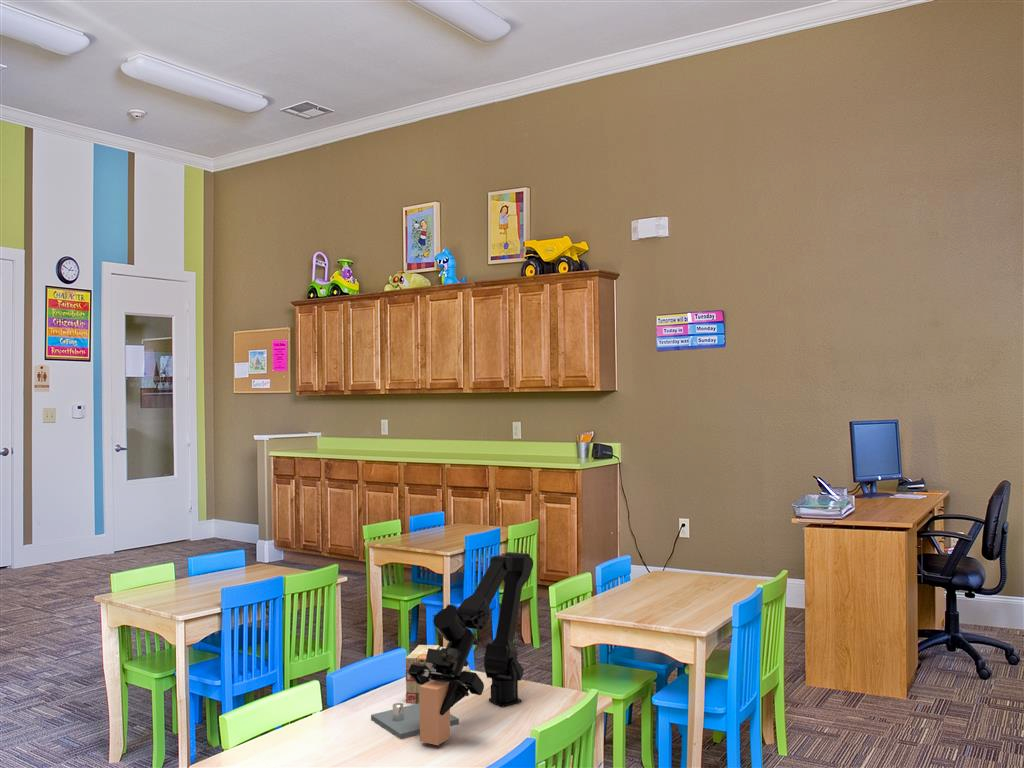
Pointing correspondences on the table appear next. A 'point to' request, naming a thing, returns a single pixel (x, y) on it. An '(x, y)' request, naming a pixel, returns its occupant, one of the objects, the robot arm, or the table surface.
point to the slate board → (404, 721)
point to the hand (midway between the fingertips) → (431, 712)
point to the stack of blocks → (419, 658)
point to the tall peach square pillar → (433, 713)
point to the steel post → (398, 712)
